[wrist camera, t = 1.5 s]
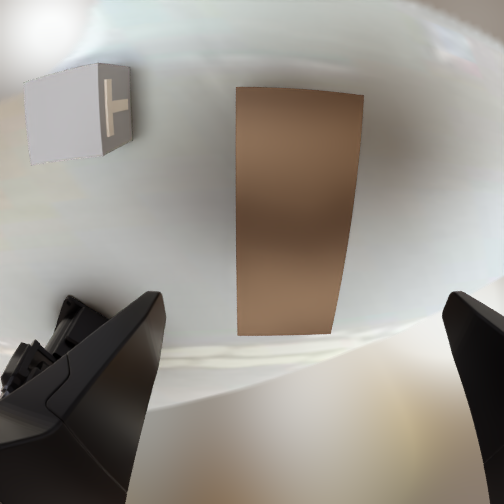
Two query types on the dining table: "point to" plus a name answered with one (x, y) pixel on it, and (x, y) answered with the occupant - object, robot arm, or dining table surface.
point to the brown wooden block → (293, 206)
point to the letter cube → (78, 113)
